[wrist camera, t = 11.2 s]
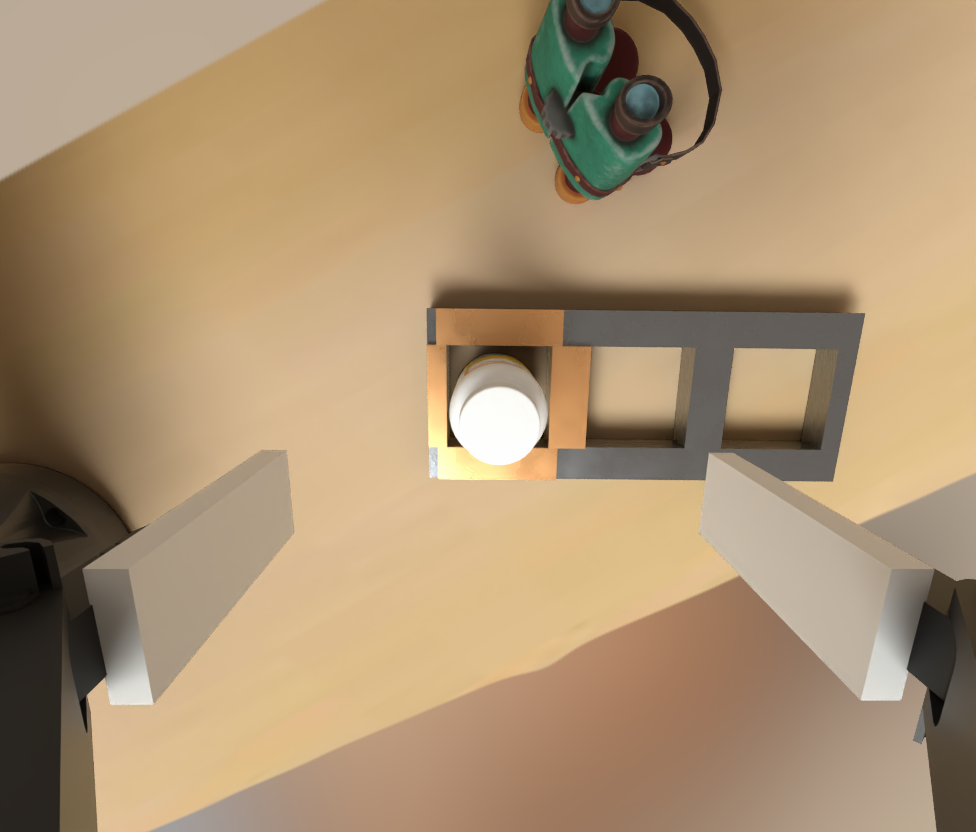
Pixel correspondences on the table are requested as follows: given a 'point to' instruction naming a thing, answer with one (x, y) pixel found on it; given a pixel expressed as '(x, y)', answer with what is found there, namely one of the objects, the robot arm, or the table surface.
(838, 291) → the table surface
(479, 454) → the supplement bottle
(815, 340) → the hole rail
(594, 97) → the binoculars
